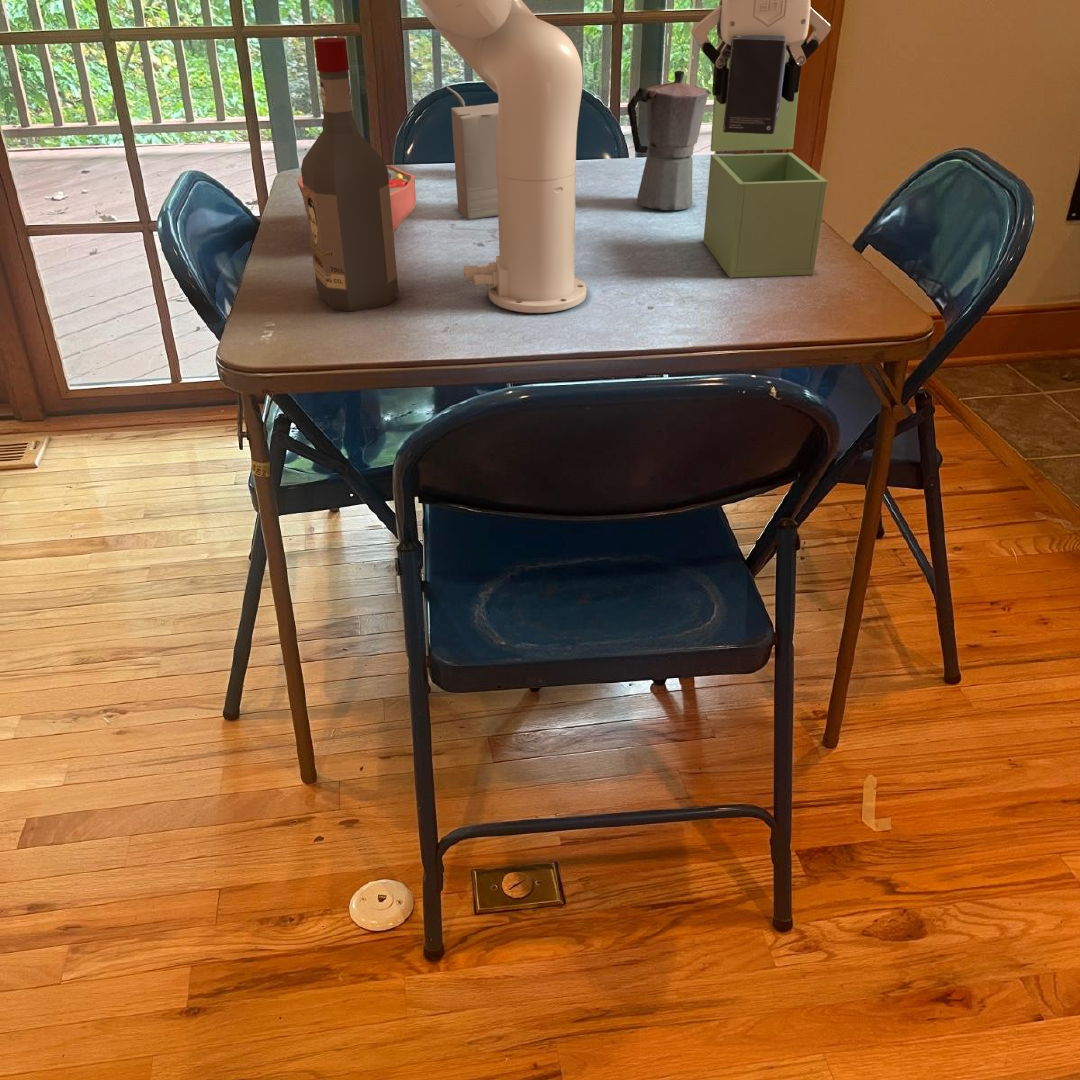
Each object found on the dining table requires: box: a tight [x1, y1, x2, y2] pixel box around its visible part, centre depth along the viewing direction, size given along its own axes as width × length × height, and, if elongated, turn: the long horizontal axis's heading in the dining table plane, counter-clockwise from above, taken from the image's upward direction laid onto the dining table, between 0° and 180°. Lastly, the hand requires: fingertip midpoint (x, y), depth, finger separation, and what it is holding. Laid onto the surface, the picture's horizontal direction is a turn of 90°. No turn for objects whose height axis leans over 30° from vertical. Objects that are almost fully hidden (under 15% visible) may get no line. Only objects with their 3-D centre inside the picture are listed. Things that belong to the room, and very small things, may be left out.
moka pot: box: [626, 70, 712, 211], centre depth 157 cm, size 10×15×20 cm, turn 124°
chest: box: [703, 151, 828, 279], centre depth 138 cm, size 16×12×12 cm
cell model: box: [296, 165, 417, 234], centre depth 147 cm, size 17×20×11 cm
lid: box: [710, 36, 805, 152], centre depth 136 cm, size 16×12×1 cm
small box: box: [723, 35, 786, 134], centre depth 121 cm, size 11×6×10 cm, turn 167°
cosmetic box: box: [450, 102, 498, 220], centre depth 156 cm, size 8×7×16 cm
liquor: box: [300, 37, 399, 312], centre depth 121 cm, size 9×9×30 cm
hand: (754, 99), depth 123 cm, fingers closed on small box, 7 cm apart
